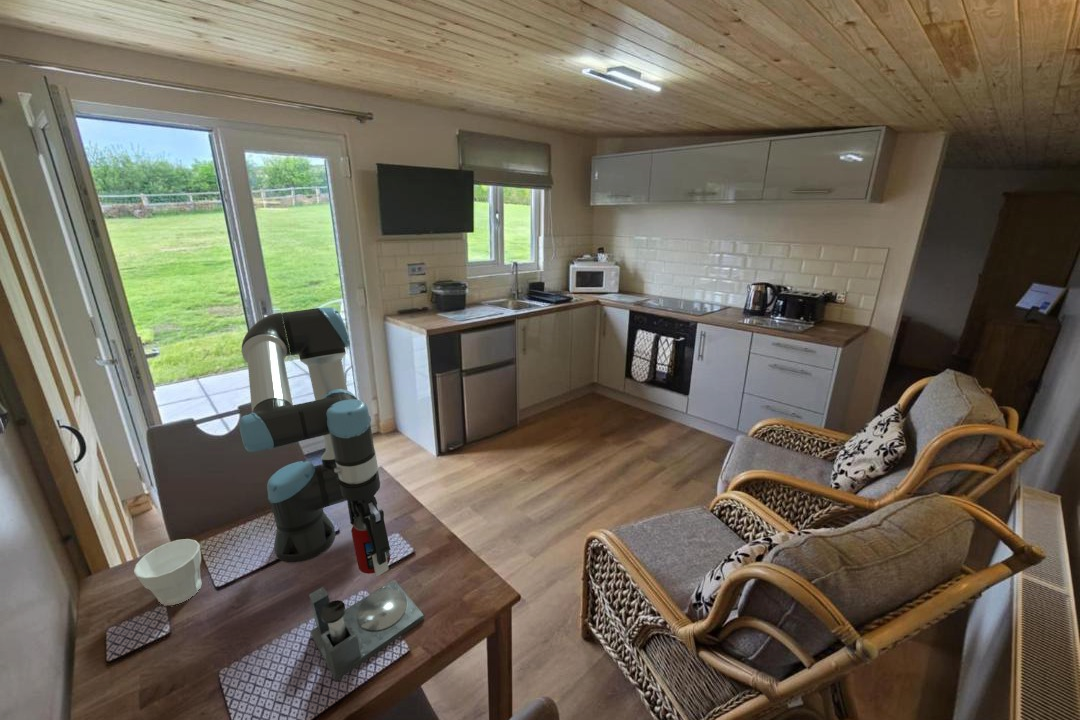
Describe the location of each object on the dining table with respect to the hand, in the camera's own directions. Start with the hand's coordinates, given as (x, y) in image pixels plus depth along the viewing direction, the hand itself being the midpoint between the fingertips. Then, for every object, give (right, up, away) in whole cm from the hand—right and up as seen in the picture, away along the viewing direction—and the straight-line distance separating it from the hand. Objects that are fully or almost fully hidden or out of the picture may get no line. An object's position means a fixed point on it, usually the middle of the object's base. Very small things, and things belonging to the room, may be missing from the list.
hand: (374, 562), depth 99 cm
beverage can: (0, -1, 0) cm, 1 cm away
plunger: (-4, -13, -7) cm, 16 cm away
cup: (-52, -13, +12) cm, 55 cm away
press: (-2, -16, +2) cm, 16 cm away
